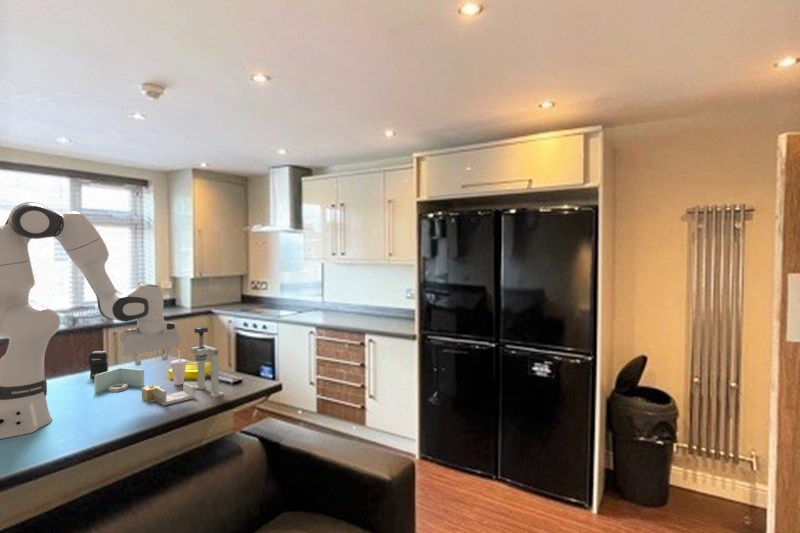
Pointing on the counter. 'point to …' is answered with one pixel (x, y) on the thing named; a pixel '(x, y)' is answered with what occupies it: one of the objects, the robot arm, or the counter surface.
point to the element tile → (193, 371)
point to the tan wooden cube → (149, 393)
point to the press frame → (214, 369)
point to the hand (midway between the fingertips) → (151, 362)
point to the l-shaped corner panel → (119, 379)
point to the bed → (174, 395)
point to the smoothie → (178, 370)
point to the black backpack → (98, 362)
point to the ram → (201, 342)
